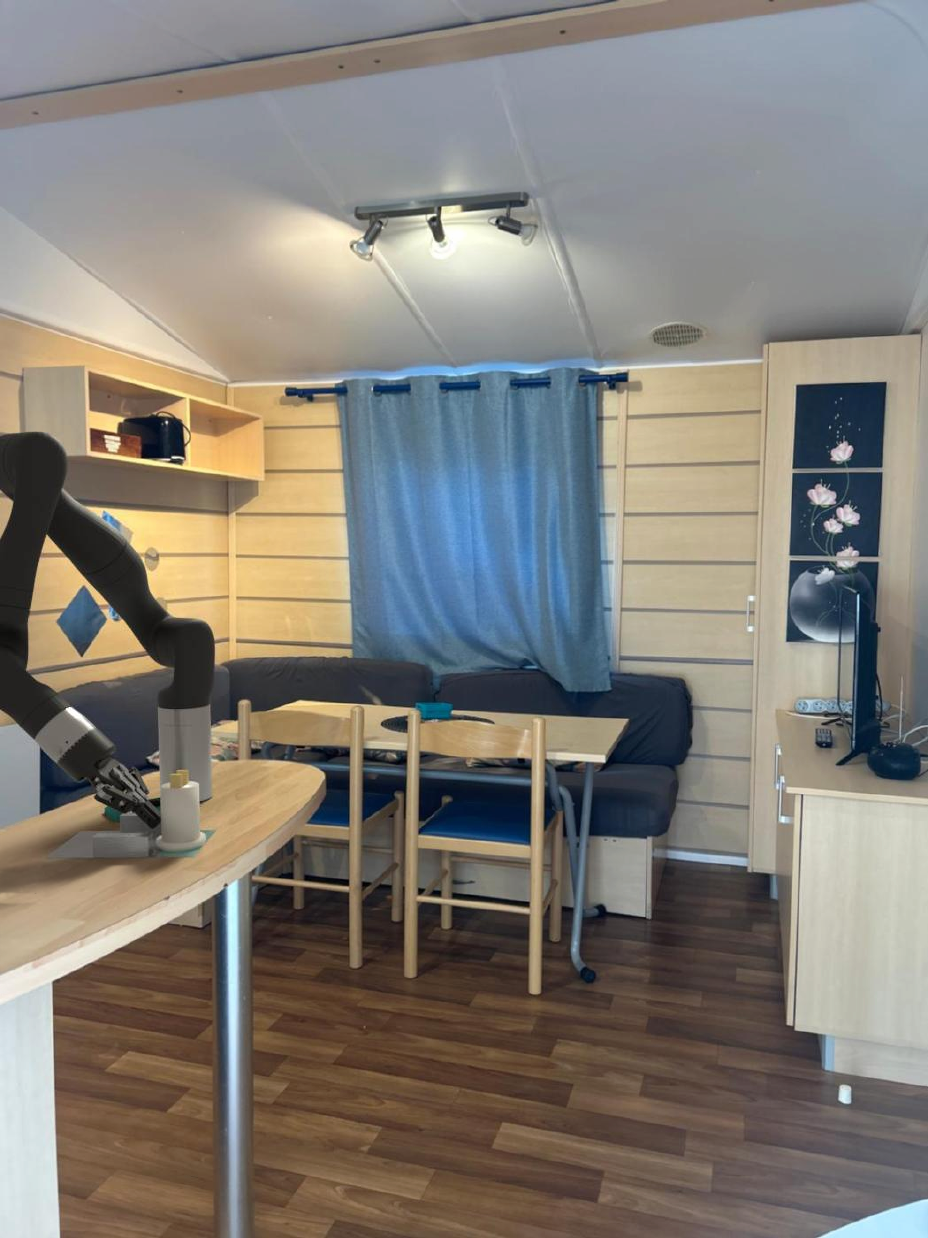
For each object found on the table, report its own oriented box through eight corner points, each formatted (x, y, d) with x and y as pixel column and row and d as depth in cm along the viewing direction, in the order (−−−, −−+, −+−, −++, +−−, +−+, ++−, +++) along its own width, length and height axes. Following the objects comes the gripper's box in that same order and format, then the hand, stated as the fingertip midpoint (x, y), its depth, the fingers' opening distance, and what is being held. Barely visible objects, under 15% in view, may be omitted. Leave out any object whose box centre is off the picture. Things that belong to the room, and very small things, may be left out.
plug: (168, 836, 143) (166, 766, 142) (212, 837, 142) (211, 767, 142) (147, 851, 136) (145, 777, 135) (194, 852, 135) (193, 778, 134)
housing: (80, 837, 146) (80, 812, 146) (216, 836, 146) (216, 811, 146) (44, 865, 133) (43, 837, 133) (193, 863, 133) (193, 836, 133)
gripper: (74, 735, 132) (162, 818, 133) (108, 718, 145) (188, 795, 146) (38, 772, 132) (126, 855, 133) (76, 752, 145) (156, 828, 146)
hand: (159, 823), depth 139 cm, fingers closed
